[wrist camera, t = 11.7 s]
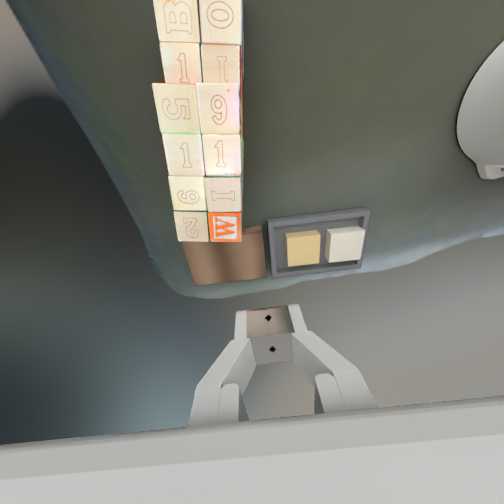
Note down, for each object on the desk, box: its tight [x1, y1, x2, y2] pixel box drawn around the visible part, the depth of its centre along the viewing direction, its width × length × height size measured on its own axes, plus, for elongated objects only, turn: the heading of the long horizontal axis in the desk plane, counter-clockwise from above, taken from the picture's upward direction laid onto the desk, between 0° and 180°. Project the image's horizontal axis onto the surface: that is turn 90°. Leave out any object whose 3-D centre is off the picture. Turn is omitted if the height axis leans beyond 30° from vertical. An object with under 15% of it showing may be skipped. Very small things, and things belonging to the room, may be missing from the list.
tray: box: [267, 207, 371, 278], centre depth 32 cm, size 15×10×2 cm, turn 97°
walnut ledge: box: [181, 226, 267, 286], centre depth 32 cm, size 12×8×3 cm, turn 97°
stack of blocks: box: [152, 0, 244, 242], centre depth 20 cm, size 21×6×12 cm, turn 179°
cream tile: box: [325, 226, 365, 263], centre depth 32 cm, size 5×5×2 cm
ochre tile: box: [285, 230, 321, 267], centre depth 32 cm, size 5×5×2 cm
